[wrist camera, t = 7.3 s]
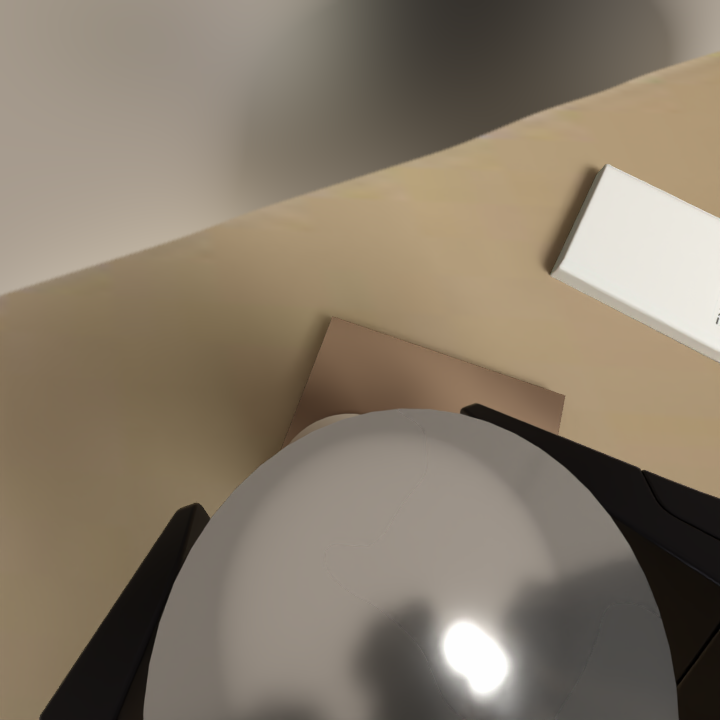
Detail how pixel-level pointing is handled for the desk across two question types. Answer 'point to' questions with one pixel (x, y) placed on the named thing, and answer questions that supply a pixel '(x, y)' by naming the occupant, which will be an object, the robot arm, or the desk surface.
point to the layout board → (407, 383)
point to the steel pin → (411, 588)
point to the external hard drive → (647, 259)
